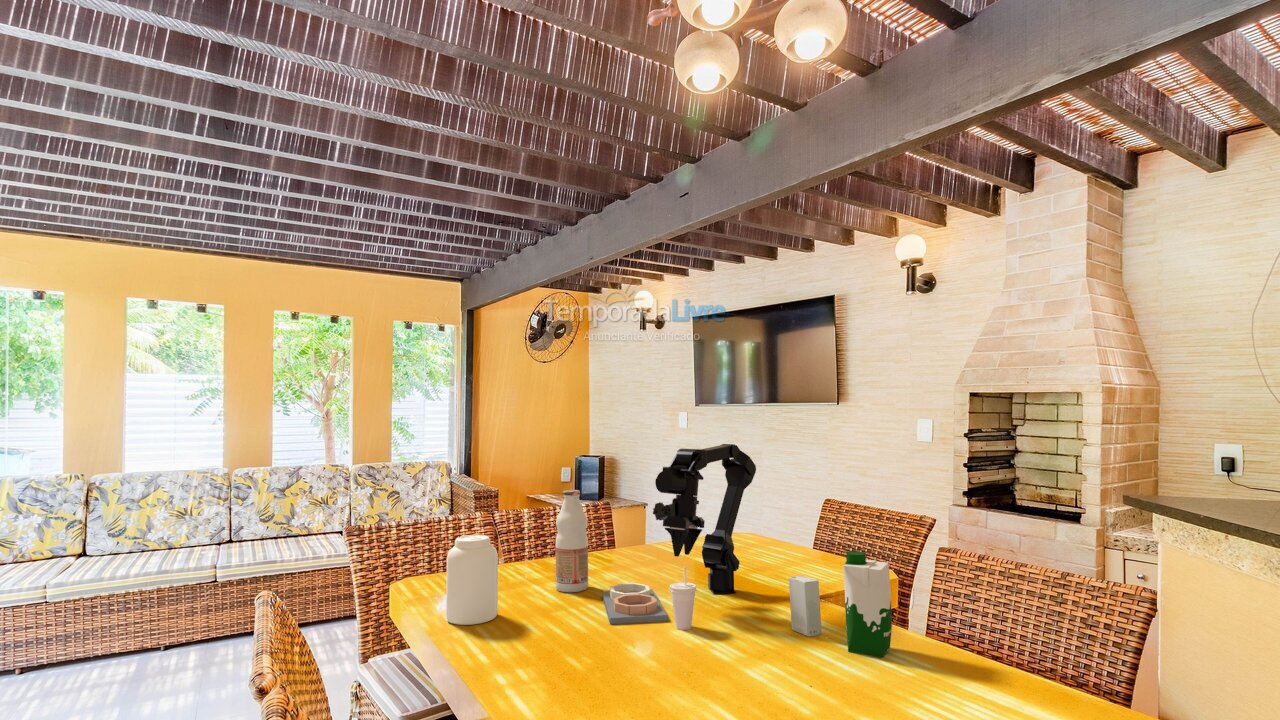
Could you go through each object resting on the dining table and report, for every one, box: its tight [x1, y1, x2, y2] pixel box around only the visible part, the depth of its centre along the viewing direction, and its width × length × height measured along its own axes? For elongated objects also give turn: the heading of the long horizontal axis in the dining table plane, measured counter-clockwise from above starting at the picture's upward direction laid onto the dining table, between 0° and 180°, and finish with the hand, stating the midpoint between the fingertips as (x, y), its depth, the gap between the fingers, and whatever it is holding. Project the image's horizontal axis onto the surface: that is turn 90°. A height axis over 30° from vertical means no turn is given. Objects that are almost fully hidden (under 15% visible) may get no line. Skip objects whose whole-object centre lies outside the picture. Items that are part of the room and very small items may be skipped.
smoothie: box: [668, 566, 697, 631], centre depth 158 cm, size 6×6×14 cm
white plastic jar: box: [445, 534, 499, 626], centre depth 167 cm, size 12×12×20 cm
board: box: [601, 582, 668, 625], centre depth 173 cm, size 14×24×4 cm, turn 8°
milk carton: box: [842, 550, 893, 659], centre depth 142 cm, size 9×9×20 cm
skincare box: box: [788, 575, 823, 637], centre depth 153 cm, size 6×4×12 cm
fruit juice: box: [555, 489, 589, 593], centre depth 193 cm, size 9×9×28 cm
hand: (681, 555), depth 176 cm, fingers open, 9 cm apart
